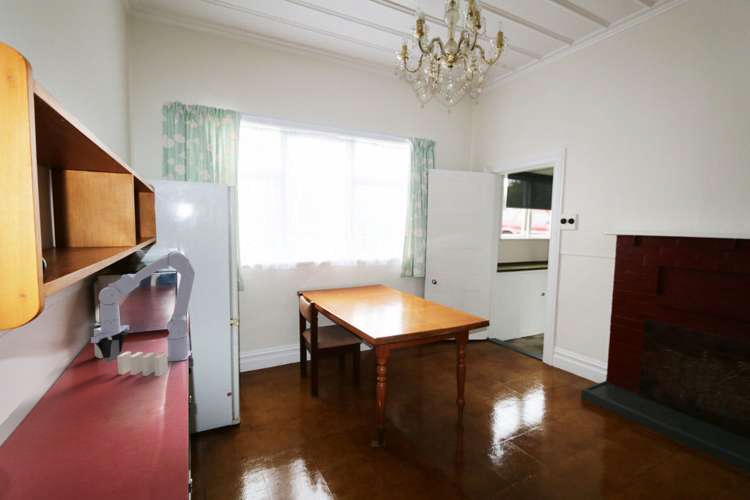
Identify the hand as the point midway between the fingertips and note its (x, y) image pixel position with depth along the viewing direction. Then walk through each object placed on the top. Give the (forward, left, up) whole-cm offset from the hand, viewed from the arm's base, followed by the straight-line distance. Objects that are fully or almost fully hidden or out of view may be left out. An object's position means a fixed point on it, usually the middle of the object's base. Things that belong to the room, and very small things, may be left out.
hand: (112, 354), depth 127 cm
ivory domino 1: (+2, +5, -6) cm, 8 cm away
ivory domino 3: (+5, +14, -6) cm, 16 cm away
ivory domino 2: (+3, +9, -6) cm, 12 cm away
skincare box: (-18, -10, -7) cm, 22 cm away
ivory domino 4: (+7, +18, -6) cm, 20 cm away
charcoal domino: (0, 0, -2) cm, 2 cm away
